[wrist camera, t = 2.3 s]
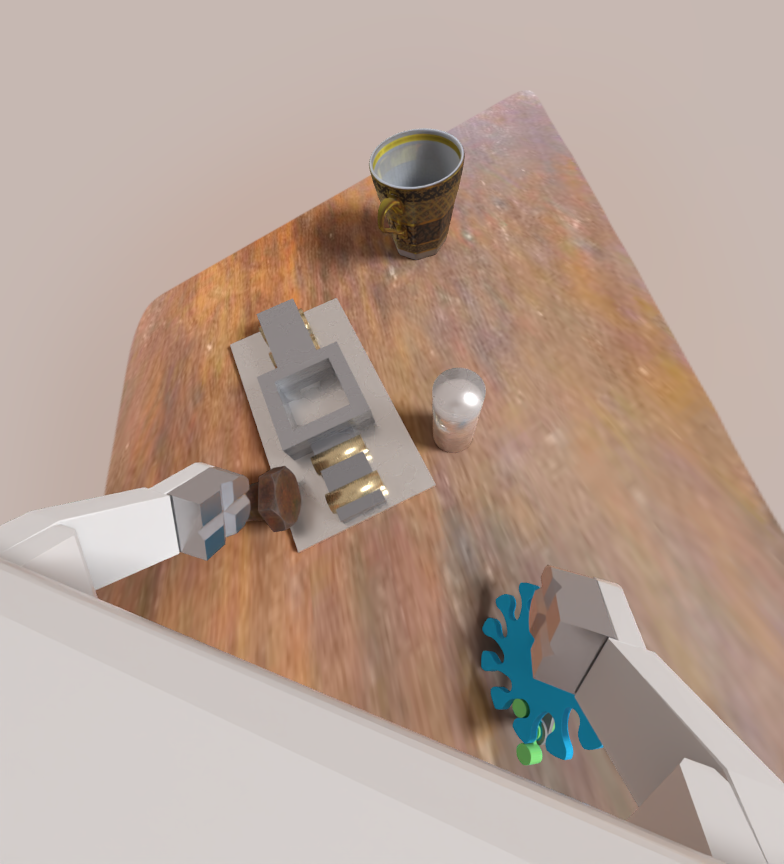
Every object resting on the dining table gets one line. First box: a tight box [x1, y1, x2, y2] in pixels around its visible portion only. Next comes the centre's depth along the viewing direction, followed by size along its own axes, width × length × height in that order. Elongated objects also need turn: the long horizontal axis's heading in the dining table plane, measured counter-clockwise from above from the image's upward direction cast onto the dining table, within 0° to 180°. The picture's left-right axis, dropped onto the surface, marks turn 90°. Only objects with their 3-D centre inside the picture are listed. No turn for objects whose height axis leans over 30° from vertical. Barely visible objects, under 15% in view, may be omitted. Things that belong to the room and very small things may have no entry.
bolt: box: [245, 466, 301, 532], centre depth 32 cm, size 6×5×15 cm
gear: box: [481, 583, 603, 765], centre depth 25 cm, size 11×6×10 cm
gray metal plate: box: [230, 298, 436, 553], centre depth 36 cm, size 14×26×4 cm, turn 25°
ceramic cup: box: [369, 129, 465, 260], centre depth 41 cm, size 13×10×10 cm
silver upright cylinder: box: [433, 368, 486, 453], centre depth 31 cm, size 4×4×9 cm
